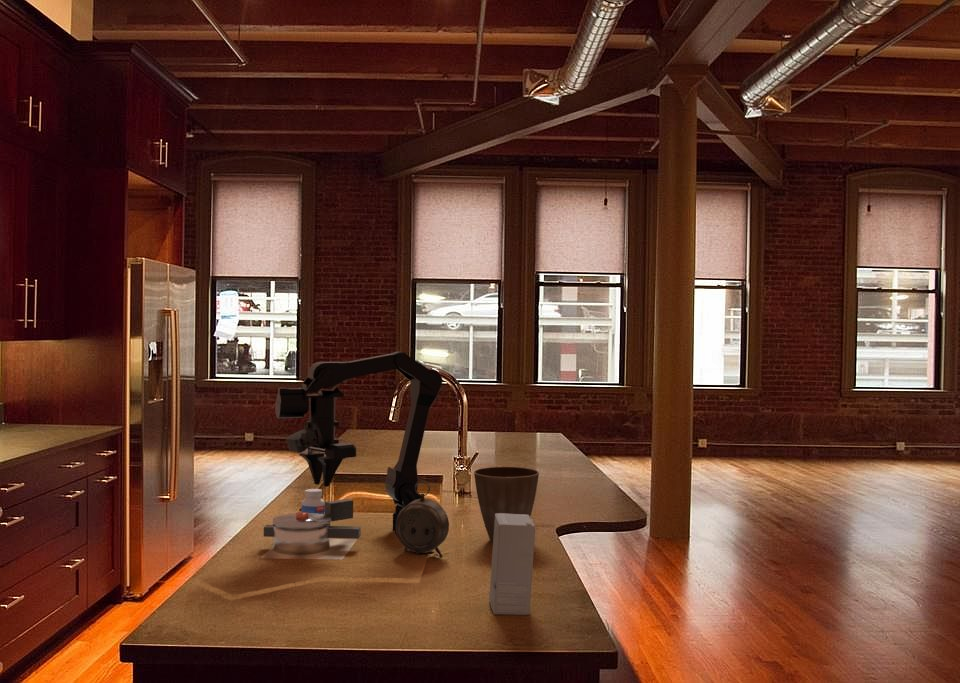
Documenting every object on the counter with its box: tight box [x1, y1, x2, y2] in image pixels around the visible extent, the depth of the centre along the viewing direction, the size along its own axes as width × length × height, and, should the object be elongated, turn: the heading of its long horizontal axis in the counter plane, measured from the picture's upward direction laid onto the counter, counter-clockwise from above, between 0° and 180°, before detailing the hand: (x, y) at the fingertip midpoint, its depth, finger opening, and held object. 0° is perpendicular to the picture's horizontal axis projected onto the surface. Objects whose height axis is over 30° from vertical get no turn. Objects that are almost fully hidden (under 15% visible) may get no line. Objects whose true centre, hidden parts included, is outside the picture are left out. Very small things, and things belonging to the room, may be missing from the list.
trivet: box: [260, 538, 358, 561], centre depth 192 cm, size 17×18×1 cm
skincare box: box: [488, 513, 536, 616], centre depth 154 cm, size 8×7×16 cm
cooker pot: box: [263, 524, 362, 555], centre depth 192 cm, size 20×12×5 cm, turn 88°
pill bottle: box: [300, 488, 325, 515], centre depth 212 cm, size 6×5×10 cm
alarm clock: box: [395, 480, 450, 558], centre depth 189 cm, size 11×5×16 cm, turn 73°
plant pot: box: [473, 466, 540, 543], centre depth 204 cm, size 15×15×16 cm
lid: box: [272, 498, 354, 530], centre depth 194 cm, size 19×12×4 cm, turn 133°
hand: (321, 485), depth 202 cm, fingers open, 3 cm apart
